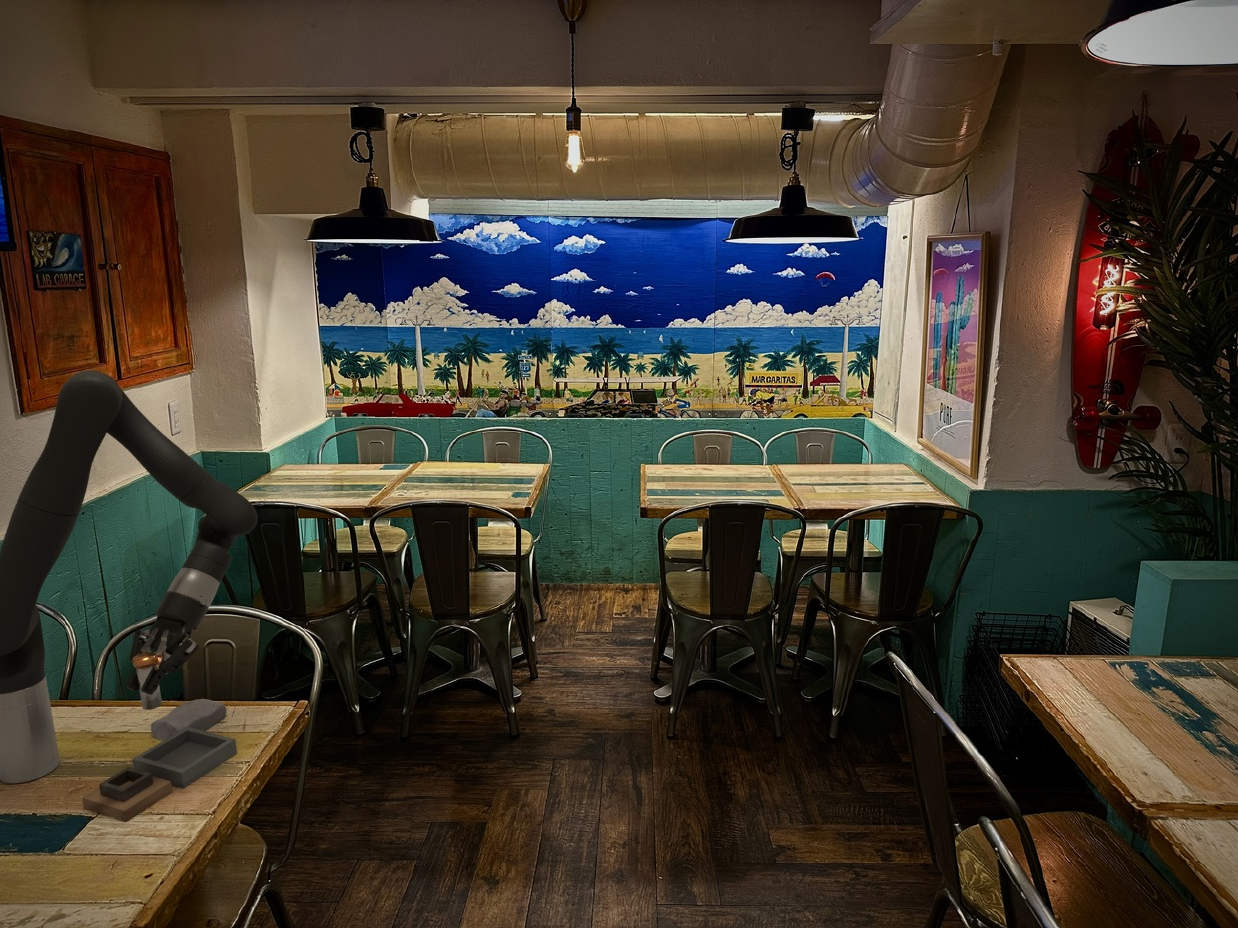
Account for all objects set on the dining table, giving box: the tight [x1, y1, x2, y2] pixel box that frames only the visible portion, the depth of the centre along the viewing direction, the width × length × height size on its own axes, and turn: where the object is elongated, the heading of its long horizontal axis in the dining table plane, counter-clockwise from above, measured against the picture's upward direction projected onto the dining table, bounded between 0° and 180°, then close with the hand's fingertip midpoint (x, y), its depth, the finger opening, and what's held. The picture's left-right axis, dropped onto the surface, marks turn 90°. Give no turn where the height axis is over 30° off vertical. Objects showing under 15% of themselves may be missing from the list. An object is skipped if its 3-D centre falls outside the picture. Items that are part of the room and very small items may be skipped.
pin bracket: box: [81, 766, 173, 822], centre depth 149 cm, size 10×9×4 cm
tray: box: [131, 727, 238, 789], centre depth 159 cm, size 12×12×3 cm
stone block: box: [150, 698, 228, 741], centre depth 173 cm, size 12×5×10 cm
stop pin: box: [132, 651, 163, 711], centre depth 150 cm, size 4×4×9 cm
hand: (139, 690), depth 149 cm, fingers closed on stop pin, 3 cm apart
